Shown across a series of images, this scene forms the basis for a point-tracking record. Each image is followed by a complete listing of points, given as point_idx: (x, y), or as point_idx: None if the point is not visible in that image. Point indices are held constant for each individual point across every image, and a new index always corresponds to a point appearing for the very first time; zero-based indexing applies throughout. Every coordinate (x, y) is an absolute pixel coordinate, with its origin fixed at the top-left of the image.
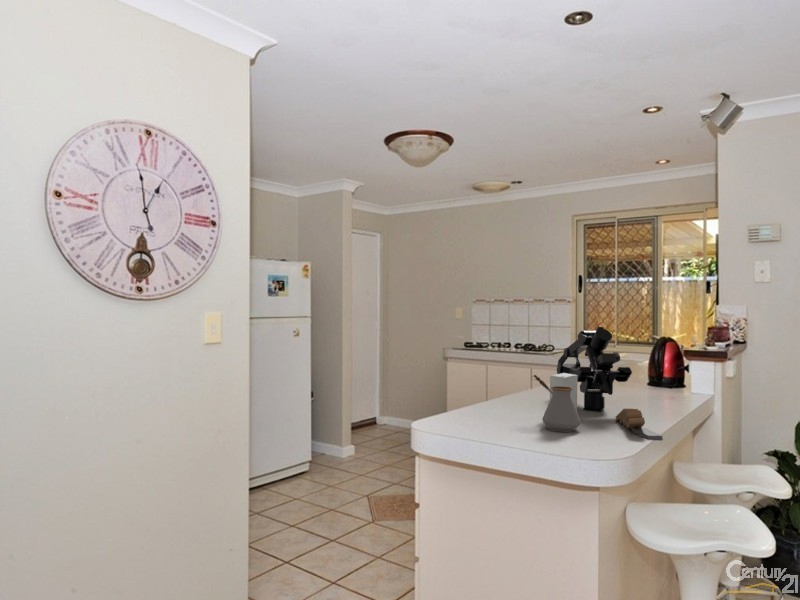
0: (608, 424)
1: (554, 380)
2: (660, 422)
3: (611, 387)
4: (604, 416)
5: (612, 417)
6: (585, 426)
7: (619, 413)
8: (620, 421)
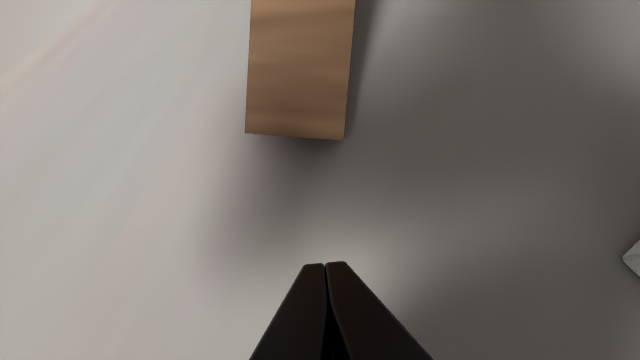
0: (425, 58)
1: None
2: (36, 129)
3: (294, 329)
4: None
5: None
6: (581, 6)
7: (353, 23)
8: None
